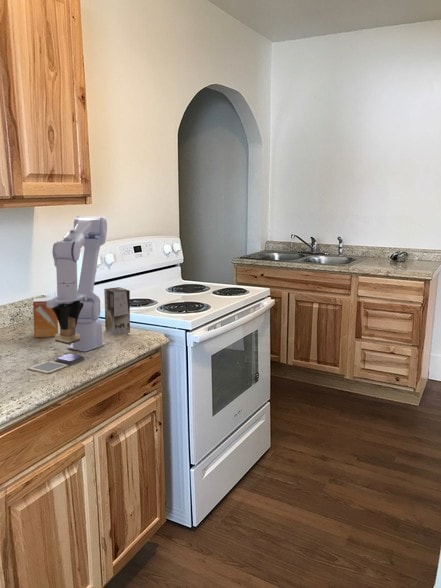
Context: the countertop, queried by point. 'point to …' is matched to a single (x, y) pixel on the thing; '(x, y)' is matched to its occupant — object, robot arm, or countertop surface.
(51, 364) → the print mark
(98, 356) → the countertop surface
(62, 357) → the ink pad
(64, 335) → the stamp
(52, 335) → the small box
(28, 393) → the countertop surface
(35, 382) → the countertop surface
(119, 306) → the coffee box
